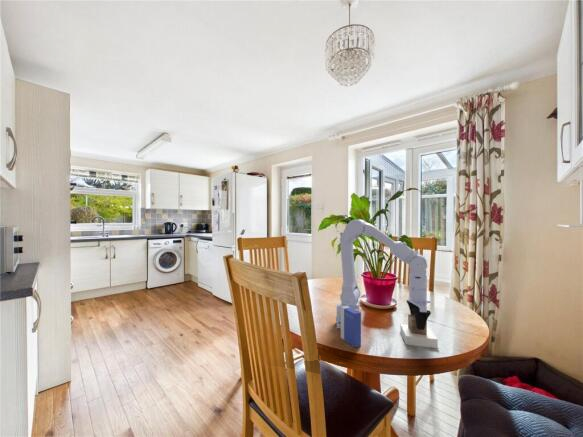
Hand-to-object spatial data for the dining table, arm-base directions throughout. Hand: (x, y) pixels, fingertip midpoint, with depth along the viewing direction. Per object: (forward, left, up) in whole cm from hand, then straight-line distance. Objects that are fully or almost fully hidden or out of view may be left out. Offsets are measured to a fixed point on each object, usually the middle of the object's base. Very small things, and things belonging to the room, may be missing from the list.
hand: (417, 324), depth 90 cm
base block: (0, 0, -5) cm, 5 cm away
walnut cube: (0, 0, -2) cm, 2 cm away
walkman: (-24, -8, -6) cm, 26 cm away
